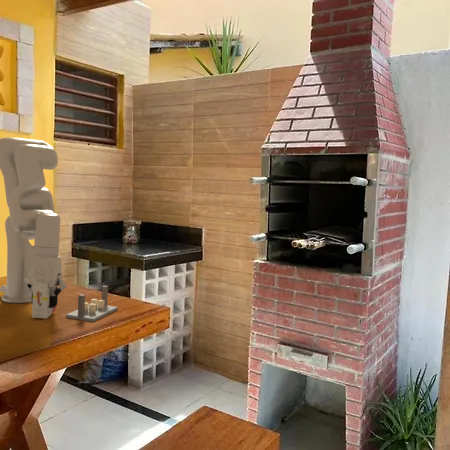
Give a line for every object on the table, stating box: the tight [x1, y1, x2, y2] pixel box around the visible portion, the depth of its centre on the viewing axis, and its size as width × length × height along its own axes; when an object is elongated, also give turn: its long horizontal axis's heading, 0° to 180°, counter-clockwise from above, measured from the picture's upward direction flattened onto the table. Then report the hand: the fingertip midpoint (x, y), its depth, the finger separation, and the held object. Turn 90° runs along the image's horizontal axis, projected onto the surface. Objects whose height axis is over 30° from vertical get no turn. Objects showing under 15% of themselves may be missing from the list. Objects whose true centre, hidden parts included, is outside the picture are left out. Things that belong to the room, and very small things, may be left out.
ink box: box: [31, 281, 56, 319], centre depth 151 cm, size 9×5×12 cm, turn 0°
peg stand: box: [65, 285, 119, 322], centre depth 158 cm, size 10×16×8 cm, turn 164°
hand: (44, 304), depth 151 cm, fingers closed on ink box, 6 cm apart
